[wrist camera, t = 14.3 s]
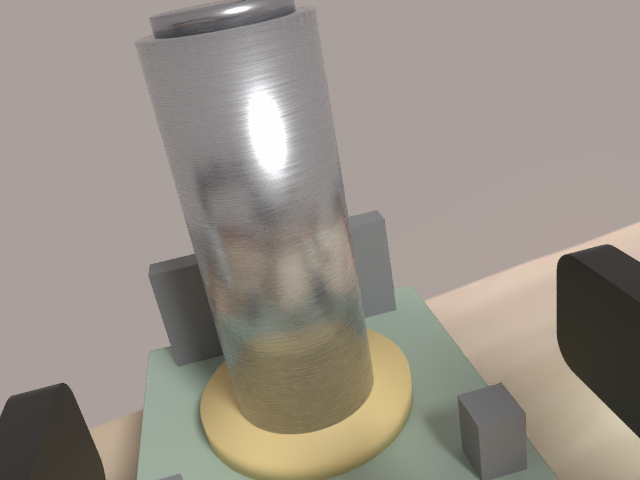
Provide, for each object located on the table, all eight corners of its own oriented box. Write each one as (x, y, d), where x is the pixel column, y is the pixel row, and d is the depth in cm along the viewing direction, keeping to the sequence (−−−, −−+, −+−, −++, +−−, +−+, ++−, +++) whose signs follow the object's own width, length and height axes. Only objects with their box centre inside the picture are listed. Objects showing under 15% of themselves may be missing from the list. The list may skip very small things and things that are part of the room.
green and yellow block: (177, 724, 20) (66, 489, 16) (180, 441, 33) (118, 265, 28) (558, 598, 22) (557, 352, 17) (422, 374, 35) (401, 198, 30)
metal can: (243, 451, 22) (87, -87, 14) (232, 363, 27) (112, -68, 20) (392, 409, 22) (313, -125, 15) (354, 331, 27) (281, -97, 20)
